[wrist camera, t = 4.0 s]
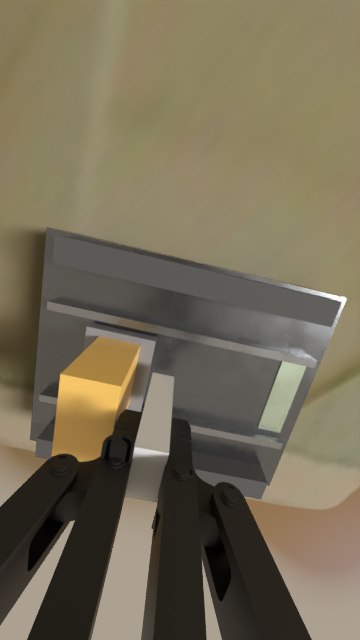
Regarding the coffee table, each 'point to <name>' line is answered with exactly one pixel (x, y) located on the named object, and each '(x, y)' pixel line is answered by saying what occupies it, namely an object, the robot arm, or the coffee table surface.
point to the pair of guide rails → (204, 286)
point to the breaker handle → (100, 389)
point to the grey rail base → (187, 354)
